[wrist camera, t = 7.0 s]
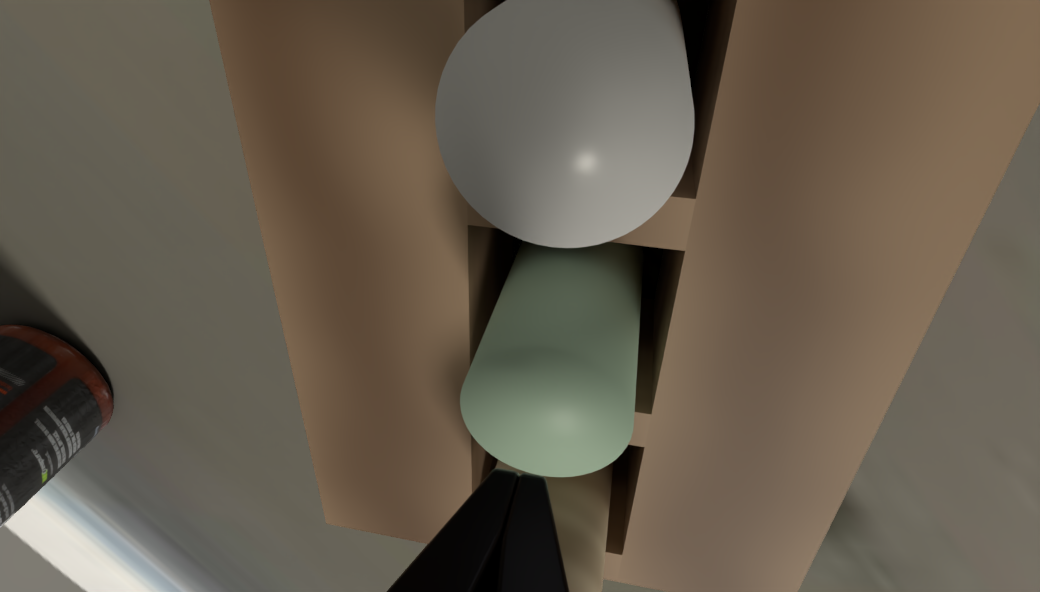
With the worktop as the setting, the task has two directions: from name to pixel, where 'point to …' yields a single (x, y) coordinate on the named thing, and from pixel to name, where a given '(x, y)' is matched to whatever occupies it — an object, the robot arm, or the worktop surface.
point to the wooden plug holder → (675, 227)
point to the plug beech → (580, 524)
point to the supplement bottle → (43, 410)
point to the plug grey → (568, 117)
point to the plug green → (559, 360)
